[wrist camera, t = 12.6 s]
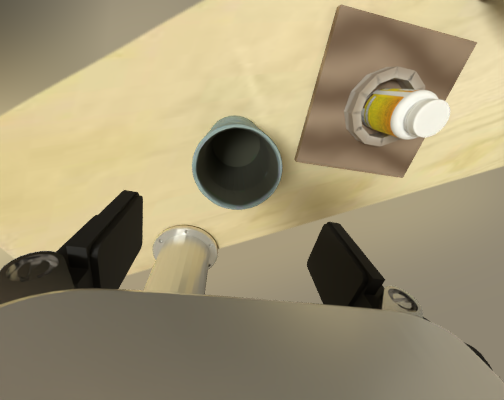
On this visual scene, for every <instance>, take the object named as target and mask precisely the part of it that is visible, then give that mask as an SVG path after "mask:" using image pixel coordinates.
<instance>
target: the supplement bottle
mask: <svg viewBox="0 0 504 400" xmlns="http://www.w3.org/2000/svg"><path fill="white" fill-rule="evenodd" d="M449 116H450V107H449V105H448V103H447V102H446V101H444V100H440V99H438V97H437V96H436V94H434V93H433V92H431V91H428V90H416V89H394V88H383V89H379V90H376V91H374V92H373V93H371V94H370V95H369V96H368V97H367V98H366V101H365V103H364V106H363V108H362V111H361V120H362V122H363V123H364V125H366V126H367V127H369V128H371V129H374V130H377V131H380V132H383V133H386V134H389V135H392V136H395V137H397V138H401V139H405V140H409V139H414V138H417V137H430V136H433V135H435V134H436V133H438V132H439V131H440V130H441V129H442V128H443V127H444V126H445V124H446V123H447V121H448V119H449Z"/></svg>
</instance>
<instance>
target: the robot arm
mask: <svg viewBox="0 0 504 400" xmlns="http://www.w3.org/2000/svg"><path fill="white" fill-rule="evenodd" d="M142 226H143V198H142V196H139V194H138V192H133V191H126V190H124V191H122V192H121V193H120V194H119V195H118V196H117V197H116V198H115V199H114V200H113V201H112V202H111V203H110V204H109V205H108V206H107V207H106V208H105V209H104V210H103V211H102V212H101V213H100V214H99V215H95V216H94V217H93V218H92V219H91V220H89V221H88V222H87V223H86V224H85V225H84V226H83V227H82V228H81V229H80V230H79V231H78V232H77V233H76V234H75V235H74V236H73V237H71V238H70V239H69V240H68V241H67V242H66V243H65V244H64V245H63V246H62V247H61V248H60V249H59V250H58V251H57V252H52V251H39V252H34V253H29V254H26V255H23V256H20V257H18V258H16V259H14V260H12V261H11V262H9V263H8V264H6V265H5V266H4V267H3V268H2V269H1V270H0V400H504V379H502V378H501V377H500V376H499V377H498V376H497V375H496V374H495V373H494V372H493V370H492V368H491V367H490V365H489V364H488V362H487V361H486V360H485V359H484V357H483V356H482V355H481V354H480V353H479V352H478V351H477V350H476V349H475V348H473V347H472V346H470V345H468V344H466V343H464V342H463V341H462V340H460V339H459V338H458V337H457V336H455V335H454V334H453V333H451V332H450V331H448V330H446V329H444V328H443V327H440V326H439V325H437V324H434V323H432V322H430V321H429V320H427V319H426V318H424V317H423V312H422V308H421V306H420V304H419V303H418V302H417V301H416V300H415V298H414V297H412V296H411V295H410V294H409V293H407V292H406V291H404V290H402V289H400V288H398V287H395V286H387V287H385V288H384V287H383V286H382V284H383V282H384V281H385V279H384V278H383V276H382V275H381V274H380V273H379V272H378V270H377V269H376V268H375V267H374V265H373V264H372V263H371V262H370V261H369V259H368V258H367V257H366V255H364V253H363V252H362V251H361V249H360V248H359V247H358V246H357V244H356V243H355V242H354V241H353V239H352V238H351V237H350V236H349V235H348V233H347V232H346V231H345V230H344V228H343V227H342V226H341V225H340V224H338V223H332V222H328V223H327V224H324V226H323V227H322V230H321V232H320V234H319V236H318V239H317V241H316V243H315V245H314V248H313V250H312V252H311V254H310V257H309V259H308V262H307V267H308V270H309V272H310V274H311V276H312V279H313V281H314V283H315V286H316V288H317V291H318V293H319V295H320V297H321V300H322V302H323V304H314V303H303V302H291V301H278V300H265V299H252V298H238V297H226V296H212V295H205V287H206V279H207V271H208V269H210V268H211V267H212V266H213V265H214V263H215V261H216V259H217V254H218V249H217V245H216V242H215V240H214V239H213V238H212V237H211V236H210V235H209V234H208V233H207V232H205V231H204V230H202V229H199V228H197V227H193V226H187V225H182V226H174V227H171V228H168V229H166V230H164V231H163V232H162V233H160V234H159V235H158V237H157V238H156V240H155V242H154V245H153V255H154V258H155V260H156V261H155V264H154V266H153V269H152V271H151V273H150V276H149V278H148V280H147V283H146V285H145V287H144V290H126V289H119V287H120V285H121V283H122V281H123V280H124V278H125V276H126V274H127V272H128V271H129V269H130V267H131V265H132V263H133V262H134V260H135V258H136V256H137V254H138V253H139V251H140V249H141V246H142Z"/></svg>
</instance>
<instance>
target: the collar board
mask: <svg viewBox="0 0 504 400" xmlns="http://www.w3.org/2000/svg"><path fill="white" fill-rule="evenodd" d="M476 44H477V42H474V41H470V40H467V39H463V38H459V37H456V36H452V35H449V34H445V33H441V32H438V31H434V30H431V29H427V28H423V27H420V26H416V25H412V24H409V23H405V22H402V21H398V20H394V19H391V18H387V17H384V16H380V15H376V14H373V13H369V12H366V11H362V10H358V9H355V8H351V7H348V6H344V5H340V6H339V7H337V10H336V13H335V17H334V20H333V24H332V27H331V31H330V35H329V38H328V42H327V45H326V49H325V52H324V56H323V60H322V63H321V67H320V70H319V74H318V77H317V81H316V84H315V88H314V92H313V95H312V99H311V102H310V106H309V109H308V113H307V117H306V120H305V124H304V127H303V131H302V134H301V138H300V141H299V145H298V149H297V152H296V156H295V161H296V162H302V163H309V164H316V165H322V166H329V167H335V168H342V169H349V170H355V171H362V172H368V173H375V174H381V175H388V176H395V177H401V178H403V177H404V175H405V173H406V171H407V169H408V167H409V166H410V164H411V162H412V160H413V158H414V156H415V155H416V153H417V151H418V149H419V147H420V146H421V144H422V142H423V140H424V138H425V137H417V138H414V139H409V140H405V139H401V138H397V137H395V136H392V135H389V134H386V133H383V132H380V131H377V130H374V129H371V128H369V127H367V126H366V125H364V123H363V122H362V120H361V111H362V108H363V106H364V103H365V101H366V98H367V97H368V96H369V95H370V94H371V93H373V92H374V91H376V90H379V89H383V88H394V89H416V90H428V91H431V92H433V93H434V94H436V96H437V97H438V99H440V100H444V101H445V100H446V98H447V96H448V95H449V93H450V91H451V89H452V87H453V85H454V84H455V82H456V80H457V78H458V76H459V75H460V73H461V71H462V69H463V67H464V65H465V64H466V62H467V60H468V58H469V56H470V55H471V53H472V51H473V49H474V47H475V45H476Z"/></svg>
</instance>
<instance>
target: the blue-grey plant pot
mask: <svg viewBox="0 0 504 400" xmlns="http://www.w3.org/2000/svg"><path fill="white" fill-rule="evenodd" d="M192 172H193V177H194V180H195V183H196V184H197V186H198V188H199V190H200V191H201V192H202V194H203V195H204V196H205V197H207V198H208V199H209V200H210V201H212V202H213V203H214V204H216V205H218V206H221V207H224V208H228V209H234V210H241V209H248V208H251V207H254V206H257V205H259V204H261V203H262V202H264V201H265V200H267V199H268V198H269V197H270V196H271V195H272V194H273V192H274V191H275V190H276V188H277V186H278V184H279V182H280V179H281V175H282V159H281V155H280V152H279V150H278V148H277V146H276V145H275V144H274V142H273V141H272V140H271V139H270V138H269V137H268V136H267V135H266V134H265V133H264V132H262V131H261V130H260V129H259V128H257V127H256V126H255V124H254V123H252V122H251V121H250V120H248V119H246V118H244V117H241V116H228V117H225V118H222V119H221V120H219V121H218V122H217V123H216V124H215V125H214V126H213V127H212V128H211V130H210V131H209V132H208V133H207V135H206V136H205V137H204V138H203V139H202V141H201V142H200V143H199V145H198V146H197V148H196V150H195V153H194V156H193V162H192Z"/></svg>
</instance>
